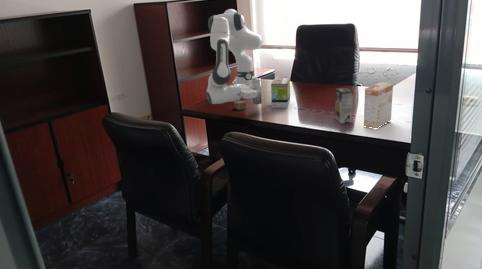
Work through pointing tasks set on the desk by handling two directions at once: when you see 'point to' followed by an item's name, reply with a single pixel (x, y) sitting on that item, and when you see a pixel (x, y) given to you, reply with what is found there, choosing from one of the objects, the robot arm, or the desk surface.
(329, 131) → the desk surface
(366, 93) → the coffeecake box
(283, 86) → the tea box
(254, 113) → the desk surface
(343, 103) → the coffee box
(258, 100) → the tin canister
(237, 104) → the walnut coaster block
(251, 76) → the robot arm
